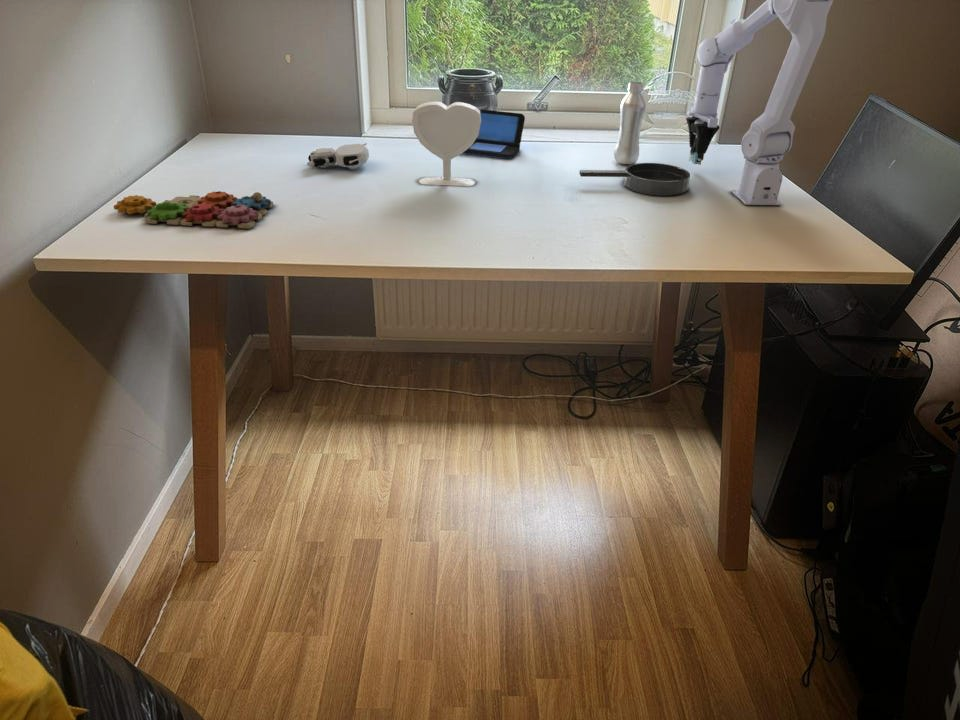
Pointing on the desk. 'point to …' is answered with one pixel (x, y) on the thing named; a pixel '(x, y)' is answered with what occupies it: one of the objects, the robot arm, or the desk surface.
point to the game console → (498, 134)
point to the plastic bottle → (630, 124)
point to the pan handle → (603, 173)
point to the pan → (657, 179)
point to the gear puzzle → (200, 209)
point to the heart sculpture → (446, 134)
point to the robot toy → (340, 156)
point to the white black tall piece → (693, 155)
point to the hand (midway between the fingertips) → (697, 150)
